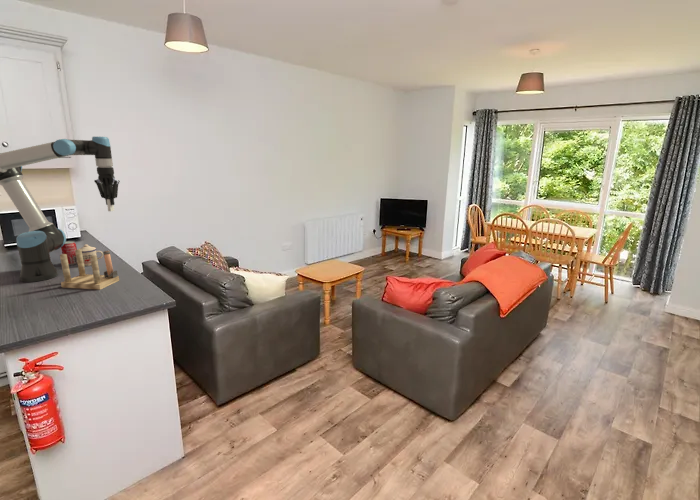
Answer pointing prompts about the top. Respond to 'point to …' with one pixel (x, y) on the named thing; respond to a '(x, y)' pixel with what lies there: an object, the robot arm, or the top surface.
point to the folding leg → (108, 263)
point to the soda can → (70, 252)
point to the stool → (86, 279)
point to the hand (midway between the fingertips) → (111, 210)
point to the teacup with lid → (89, 254)
